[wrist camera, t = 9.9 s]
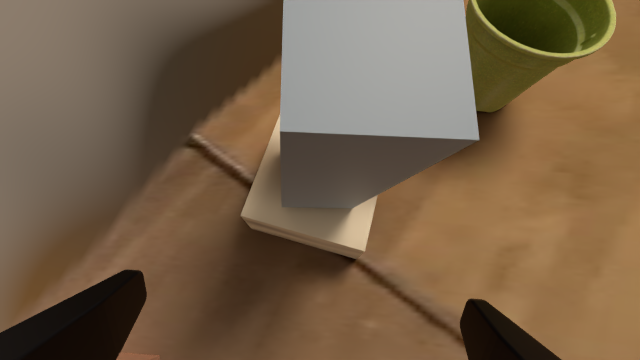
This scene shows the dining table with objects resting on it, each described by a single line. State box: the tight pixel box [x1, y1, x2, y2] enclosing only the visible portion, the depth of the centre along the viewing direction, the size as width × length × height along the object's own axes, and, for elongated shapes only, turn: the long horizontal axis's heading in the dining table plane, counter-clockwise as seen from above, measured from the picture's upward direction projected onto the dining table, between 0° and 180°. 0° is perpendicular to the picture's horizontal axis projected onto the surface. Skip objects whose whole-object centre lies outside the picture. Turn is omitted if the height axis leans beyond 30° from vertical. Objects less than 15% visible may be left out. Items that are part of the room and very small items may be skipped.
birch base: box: [240, 116, 377, 259], centre depth 22 cm, size 8×8×4 cm
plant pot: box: [465, 0, 616, 112], centre depth 24 cm, size 9×9×9 cm
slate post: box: [280, 0, 479, 208], centre depth 14 cm, size 4×4×13 cm
